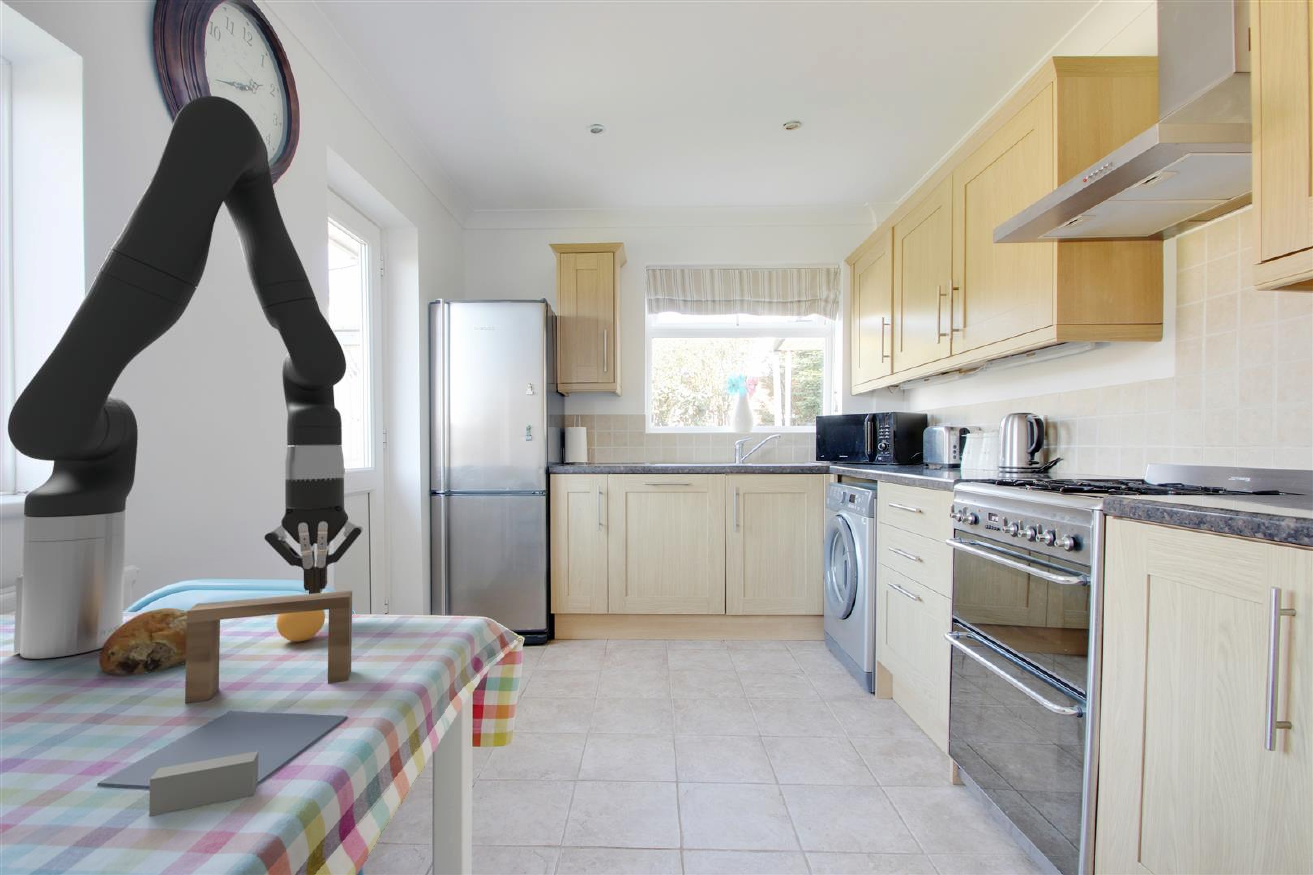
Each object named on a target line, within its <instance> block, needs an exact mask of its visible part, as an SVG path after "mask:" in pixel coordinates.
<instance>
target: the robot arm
mask: <svg viewBox="0 0 1313 875" xmlns="http://www.w3.org/2000/svg"><path fill="white" fill-rule="evenodd" d="M167 137H168V138H167V140H166V143H165V146H164V149H163V152H162V153H161V157H160V159H159V161H158V165H157V167H156V169H155V171H154V173H153V176H152V178H151V179H150V183H149V184H148V185H147V188H146V189H145V190H144V193H143V194H142V195H141V197H140V198H139V199H138V201H137V204H136V205H135V207H134V208H133V210H132V212H131V214H130V216H129V217H128V219H127V221H126V222H125V225H124V226H123V228H122V230H121V231H120V232H119V234H118V237H117V238H116V239H115V241H114V242H113V244H112V246H111V248H110V250H109V251H108V252H107V254H106V257H105V259H103V262H102V263H101V265H100V267H99V269H98V271H97V273H96V275H95V277H94V280H93V281H92V284H91V285H90V288H89V289H88V291H87V293H86V295H85V297H84V299H83V300H82V302H81V303H80V306H79V307H78V309H77V310H76V312H75V314H74V316H73V317H72V319H71V321H70V323H69V325H68V326H67V329H66V330H65V331H64V333H63V335H62V337H61V338H60V340H59V341H58V343H57V344H56V346H55V348H54V349H52V351H51V353H50V354H49V355H48V357H47V358H46V360H45V361H44V362H43V364H42V365H41V367H40V368H39V369H38V371H37V372H36V373H35V375H34V376H33V377H32V379H31V380H30V381H29V383H28V384H27V386H26V387H25V388H24V389H23V391H22V392H21V393H20V395H19V396H18V398H17V400H16V401H15V403H14V404H13V407H12V409H11V411H10V413H9V417H8V420H7V423H8V424H7V434H8V437H9V440H10V442H11V443H12V445H13V446H14V448H15V449H16V450H17V451H18V452H19V453H20V454H22V455H24V456H26V457H28V458H31V459H34V460H38V461H39V460H40V461H47V462H50V461H53V467H52V473H51V475H50V476H49V478H48V479H47V480H46V481H45V482H44V483H43V484H42V485H40V486H39V487H37V488H35V489H33V490H32V491H30V492H28V494H27V495H26V496H25V498H24V506H23V508H24V510H23V515H24V517H23V538H22V541H23V546H22V574H21V575H19V576H17V577H16V580H15V600H14V602H15V604H14V630H13V631H14V632H13V634H14V637H13V638H14V640H13V653H14V654H20V657H22V658H23V659H51V658H52V659H53V658H59V657H65V656H66V657H67V656H72V655H77V654H78V655H79V654H82V653H84V654H85V653H87V652H88V653H89V652H92V651H96V650H99V649H102V648H103V645H104V643H105V642H106V641H107V639H108V638H109V637H110V636H111V635H112V634H113V633H114V632H115V631H116V630H117V629H119V628H120V627H121V626H122V625H123V624H124V622H123V621H124V597H125V596H124V591H125V588H124V586H125V583H124V582H125V542H126V539H125V538H126V537H125V536H126V532H125V531H126V502H127V498H128V496H130V492H132V489H133V486H134V482H135V475H136V465H137V452H138V438H139V435H138V434H139V433H138V431H139V430H138V423H137V419H136V416H135V413H134V411H133V409H132V408H131V406H129V404H128V403H127V402H125V401H124V400H123V399H121V398H120V397H117V396H114V395H113V394H112V395H111V392H112V390H113V388H114V386H115V385H116V382H117V380H118V379H119V377H120V376H121V374H122V373H123V371H124V370H125V368H127V367H128V364H130V362H131V361H133V359H135V357H137V356H138V355H139V354H140V353H142V351H144V350H145V349H147V348H148V347H149V346H151V345H152V344H154V342H156V341H157V340H158V339H160V338H161V337H162V336H163V335H164V334H165V333H167V332H168V331H170V329H171V328H172V327H173V326H174V325H176V324H177V322H178V321H179V320H180V319H181V317H182V316H183V314H184V313H185V311H186V309H187V308H188V306H189V304H190V301H191V300H192V298H193V297H194V294H195V292H196V291H197V288H198V287H199V284H200V282H201V280H202V278H203V274H204V272H205V269H206V265H207V261H208V258H209V257H208V256H209V253H210V249H211V248H210V247H211V242H212V237H213V236H212V235H213V230H214V226H215V222H216V218H217V216H218V213H219V212H220V209H221V207H222V205H224V206H225V209H226V210H227V213H228V215H229V217H230V219H231V222H232V224H233V227H234V230H235V233H236V235H237V238H238V241H239V246H240V250H241V252H242V256H243V261H244V264H245V267H246V271H247V273H248V277H249V280H250V282H251V286H252V288H253V290H254V293H255V295H256V297H257V300H258V302H259V304H260V307H261V309H262V313H263V315H264V316H265V319H266V321H267V322H268V323H269V325H270V326H271V327H272V328H274V329H275V330H277V331H278V333H279V335H280V337H281V339H282V341H283V343H284V344H283V345H285V346H284V347H285V348H286V350H287V353H286V356H285V357H284V359H283V362H282V373H281V374H282V375H281V376H282V387H283V394H284V400H285V406H286V411H287V421H286V422H287V423H286V426H287V427H286V455H285V461H284V464H285V466H284V467H285V470H284V471H285V472H284V475H285V477H284V478H285V486H284V487H285V488H284V489H285V492H284V494H285V498H284V499H285V503H284V504H285V513H284V515H283V517H282V518H281V524H280V525H279V526H278V527H276V528H275V529H273V530H271V531H270V532H268V533H266V534H265V535H264V540H265V541H266V542H267V543H268V544H269V545H270V546H271V547H272V548H273V549H274V550H275V552H277V554H279V555H280V557H282V559H284V560H285V562H286V563H287V564H288V565H290V566H291V567H294V566H295V567H299V568H302V570H303V589H304V591H308V594H317V593H323V590H325V589H326V588H327V585H328V566H329V565H332V564H333V563H335V564H336V563H337V562H339V561H340V560H341V558H342V557H343V556H344V555H345V553H346V552H347V551H348V550H349V548H351V546H352V545H353V544H354V542H355V541H356V540H357V538H358V537H359V536H360V535H361V534H362V533H363V530H364V529H363V527H362V526H360V525H356V524H355V523H353V522H351V521H350V520H349V516H348V514H347V512H346V510H345V472H346V470H345V469H346V468H345V461H344V453H343V446H342V445H343V444H342V443H343V440H342V439H343V435H342V434H343V432H342V431H343V430H342V429H343V428H342V423H343V422H342V415H341V413H340V411H339V410H338V408H336V406H335V392H334V390H335V389H334V386H335V385H337V384H338V383H339V382H341V381H342V379H343V378H344V376H345V374H346V371H347V360H346V356H345V353H344V350H343V347H342V345H341V343H340V341H339V339H338V338H337V336H336V334H335V332H334V331H333V329H332V328H331V326H330V324H329V323H328V321H327V320H326V318H325V316H324V315H323V314H322V312H321V310H320V307H319V306H320V305H319V302H318V301H317V297H316V296H315V293H314V290H313V288H312V285H311V282H310V279H309V278H308V275H307V273H306V270H305V268H304V266H303V263H302V260H301V259H300V256H299V254H298V252H297V250H296V248H295V246H294V243H293V241H292V239H291V236H290V234H289V233H288V230H287V228H286V225H285V222H284V220H283V217H282V214H281V211H280V208H279V205H278V201H277V197H276V193H275V189H274V184H273V180H272V174H271V169H270V163H269V153H268V150H267V145H266V142H265V141H264V138H263V136H262V134H261V132H260V131H259V128H258V127H257V125H256V124H255V121H254V120H253V119H252V117H251V116H250V115H249V114H248V113H247V112H246V111H245V110H244V109H243V108H242V107H241V106H240V105H238V104H237V103H235V102H234V101H232V100H230V99H227V98H225V97H221V96H215V95H205V96H199V97H196V98H194V99H191V100H189V101H188V102H187V103H185V105H183V107H182V108H180V110H179V111H178V112H177V115H176V116H175V119H174V121H173V124H172V126H171V129H170V132H169V134H168V136H167ZM343 528H344V531H343V537H345V539H344V540H342V542H341V543H340V545H339V546H338V547H337V548H336V550H334V552H333V553H330V548H331V542H332V541H333V540H334V539H336V538H337V536H338V535H339V534H340V532H341V530H343ZM286 532H287V533H288V535H289V536H290V537H291V538H292V539H293V540H294V541H295V543H297V544H299V547H300V553H301V554H299V553H298V552H297V551H296V550H295V549H294V547H292V546H291V544H290V543H288V541H287V539H288V535H287V534H286ZM315 545H316V546H315ZM315 547H316V548H315ZM315 549H316V551H315ZM315 552H316V553H315Z"/></svg>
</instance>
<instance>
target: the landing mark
mask: <svg viewBox="0 0 1313 875" xmlns="http://www.w3.org/2000/svg"><path fill="white" fill-rule="evenodd" d="M347 719H348V715H334V714H333V715H332V714H311V713H310V714H309V713H288V712H266V711H264V712H263V711H262V712H261V711H237V710H235V711H234V710H228V711H227V712H225V713H223V714H221V715H220V716H218V717H216V718H214V719H212V720H211V721H209V722H206V723H205V724H203V725H201V726H198V728H195V729H194V730H192V731H191V732H188V733H187V734H185V735H183V736H181V737H179V738H178V739H176V740H174V741H172V742H170V743H168V744H166V745H164V746H163V747H161V748H159V749H157V750H156V751H154V752H152V753H150V754H148V755H146V756H144V757H143V758H141V759H139V760H137V761H135V762H133V763H132V764H129V765H127V766H126V767H124V768H122V769H121V770H118V771H117V772H115V773H113V774H112V775H109V776H108V777H106V778H104V779H102V780H100V781H99V782H97V787H112V786H113V787H116V786H117V787H116V788H130V787H131V789H133V788H134V789H148V790H150V779H151V777H152V776H153V775H154V774H155V772H156V771H157V770H158V769H159V768H164V767H169V766H175V765H181V764H187V763H192V762H198V761H204V760H210V759H216V758H221V757H227V756H233V755H239V754H245V753H250V752H256V751H259V752H258V785H260V784H261V783H262V782H264V781H266V779H268V778H269V777H270V776H272V775H273V774H275V772H277V771H279V770H280V769H281V768H283V767H284V766H285V765H287V764H288V763H289V762H290V761H292V760H293V759H295V758H296V757H297V756H298V755H300V754H301V753H303V752H304V751H306V749H307V750H308V748H309V747H311V746H312V745H313V744H315V743H316V742H317V741H319V740H320V739H322V738H323V737H324V736H326V735H327V734H328V733H330V732H331V731H332V730H333V729H335V728H336V727H338V725H340V724H341V723H343V722H344V721H345V720H347Z"/></svg>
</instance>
